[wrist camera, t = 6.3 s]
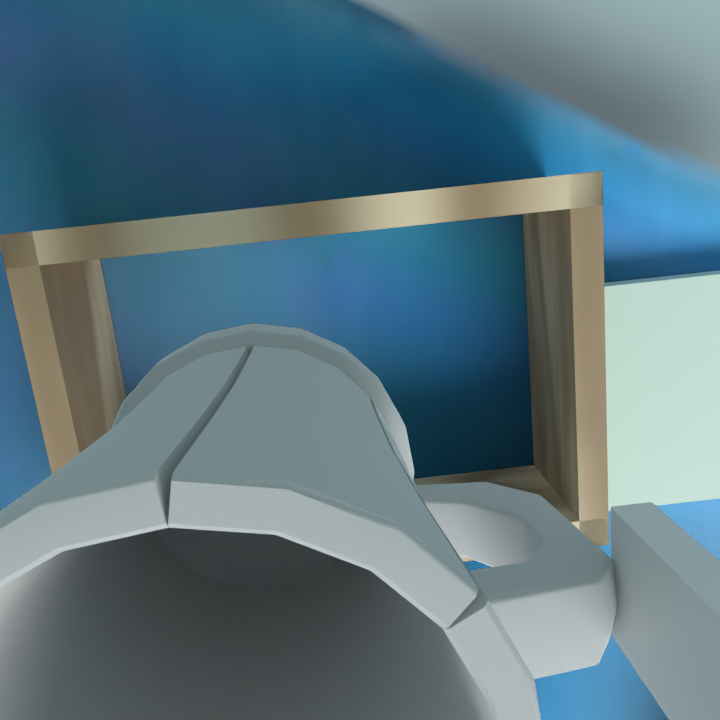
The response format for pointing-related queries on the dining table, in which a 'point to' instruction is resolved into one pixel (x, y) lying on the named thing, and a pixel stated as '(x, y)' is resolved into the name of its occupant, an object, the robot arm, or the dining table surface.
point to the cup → (283, 559)
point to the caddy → (527, 196)
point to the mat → (663, 389)
